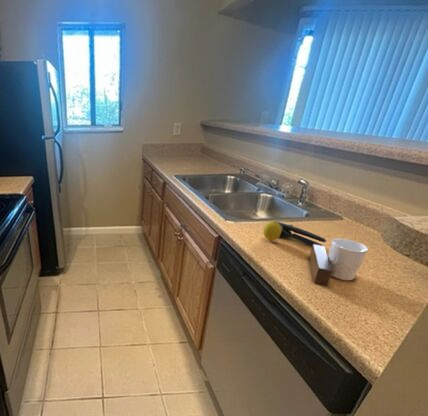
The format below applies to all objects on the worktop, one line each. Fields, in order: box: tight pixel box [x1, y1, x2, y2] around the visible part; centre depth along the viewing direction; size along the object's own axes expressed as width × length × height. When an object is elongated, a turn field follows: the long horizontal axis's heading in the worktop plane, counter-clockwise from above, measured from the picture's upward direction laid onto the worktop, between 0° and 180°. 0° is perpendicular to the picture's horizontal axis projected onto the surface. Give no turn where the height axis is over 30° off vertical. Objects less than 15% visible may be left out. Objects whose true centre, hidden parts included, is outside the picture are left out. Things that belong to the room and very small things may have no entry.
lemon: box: [263, 220, 281, 242], centre depth 101 cm, size 6×6×8 cm
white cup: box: [327, 238, 369, 281], centre depth 81 cm, size 8×8×10 cm
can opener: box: [276, 221, 327, 246], centre depth 102 cm, size 18×7×6 cm, turn 39°
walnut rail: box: [308, 244, 332, 287], centre depth 84 cm, size 3×16×5 cm, turn 149°
